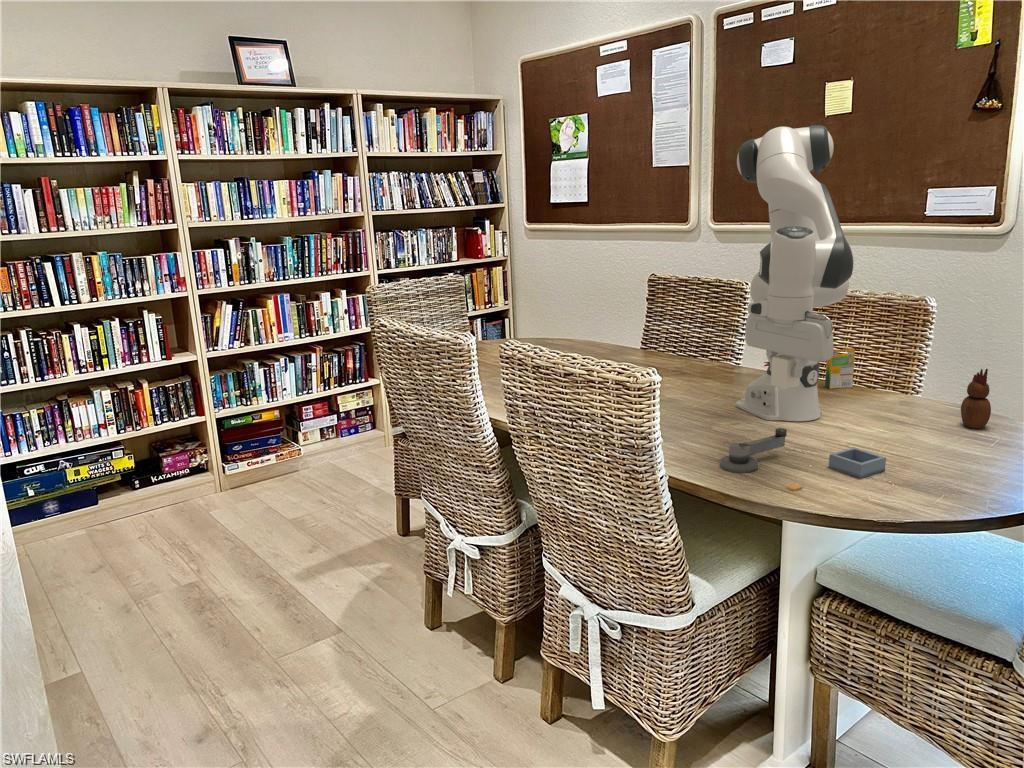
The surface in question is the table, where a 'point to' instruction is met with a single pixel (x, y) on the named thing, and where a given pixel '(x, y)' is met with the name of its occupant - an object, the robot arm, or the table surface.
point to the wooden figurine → (976, 402)
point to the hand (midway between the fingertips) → (785, 374)
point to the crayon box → (840, 369)
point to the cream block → (783, 371)
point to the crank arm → (756, 446)
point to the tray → (857, 462)
